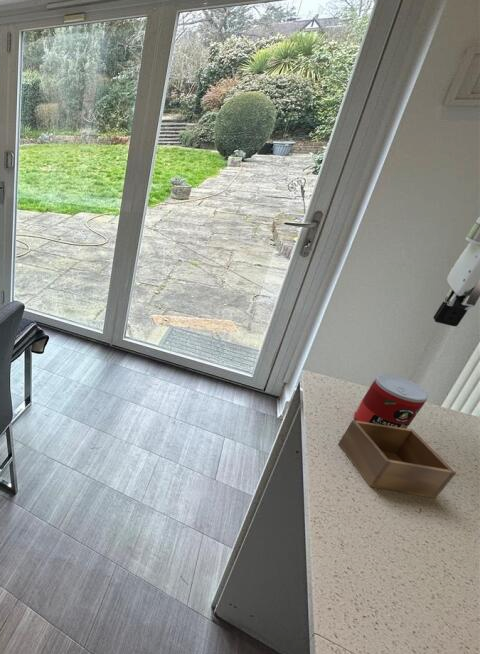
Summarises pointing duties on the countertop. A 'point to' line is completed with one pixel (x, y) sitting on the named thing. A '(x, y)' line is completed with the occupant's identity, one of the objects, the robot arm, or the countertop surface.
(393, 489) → the box
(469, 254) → the robot arm
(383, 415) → the canned food
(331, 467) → the countertop surface
